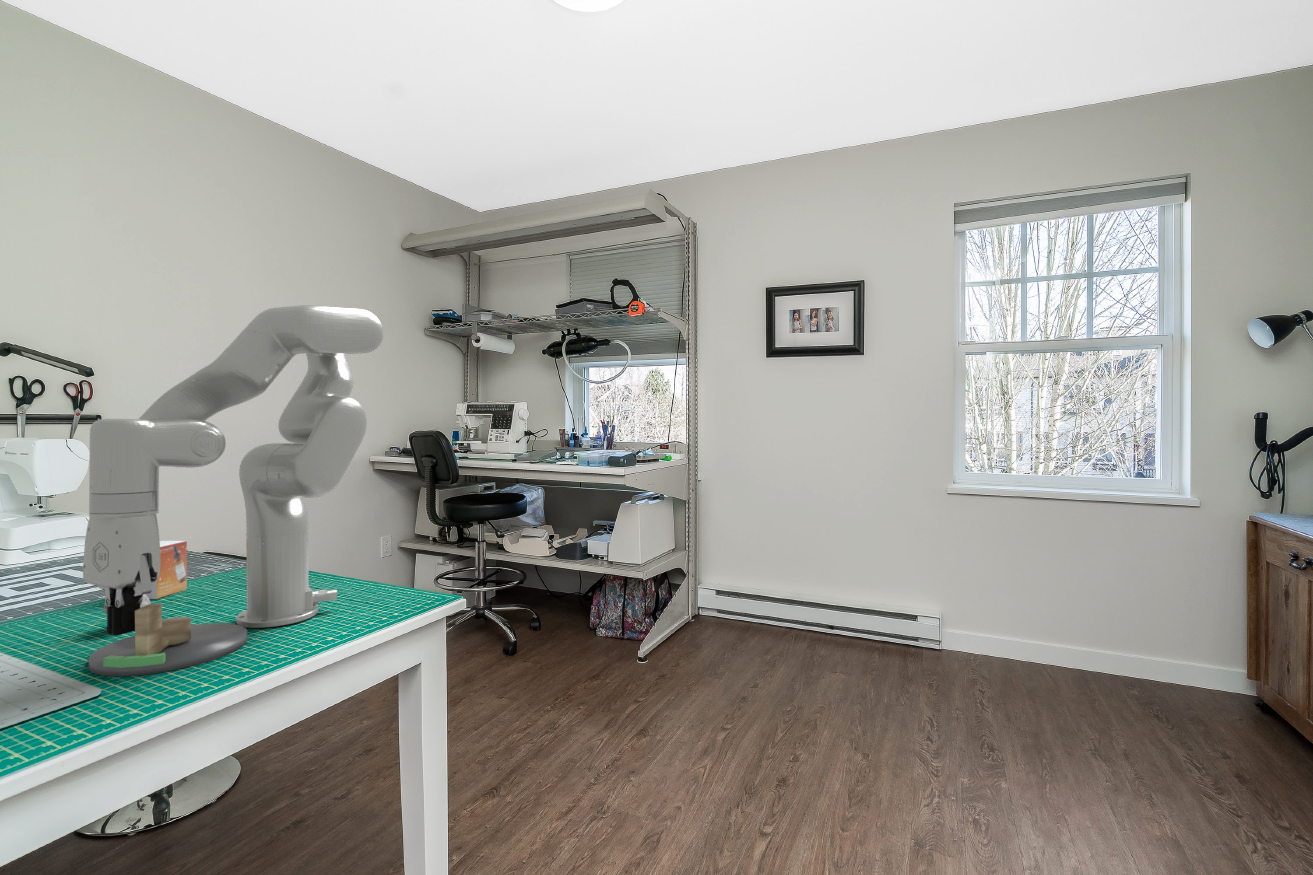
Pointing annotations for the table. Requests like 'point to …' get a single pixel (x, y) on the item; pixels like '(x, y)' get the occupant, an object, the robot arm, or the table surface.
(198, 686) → the table surface
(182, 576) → the small box
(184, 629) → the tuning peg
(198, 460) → the robot arm
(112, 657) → the dial face
